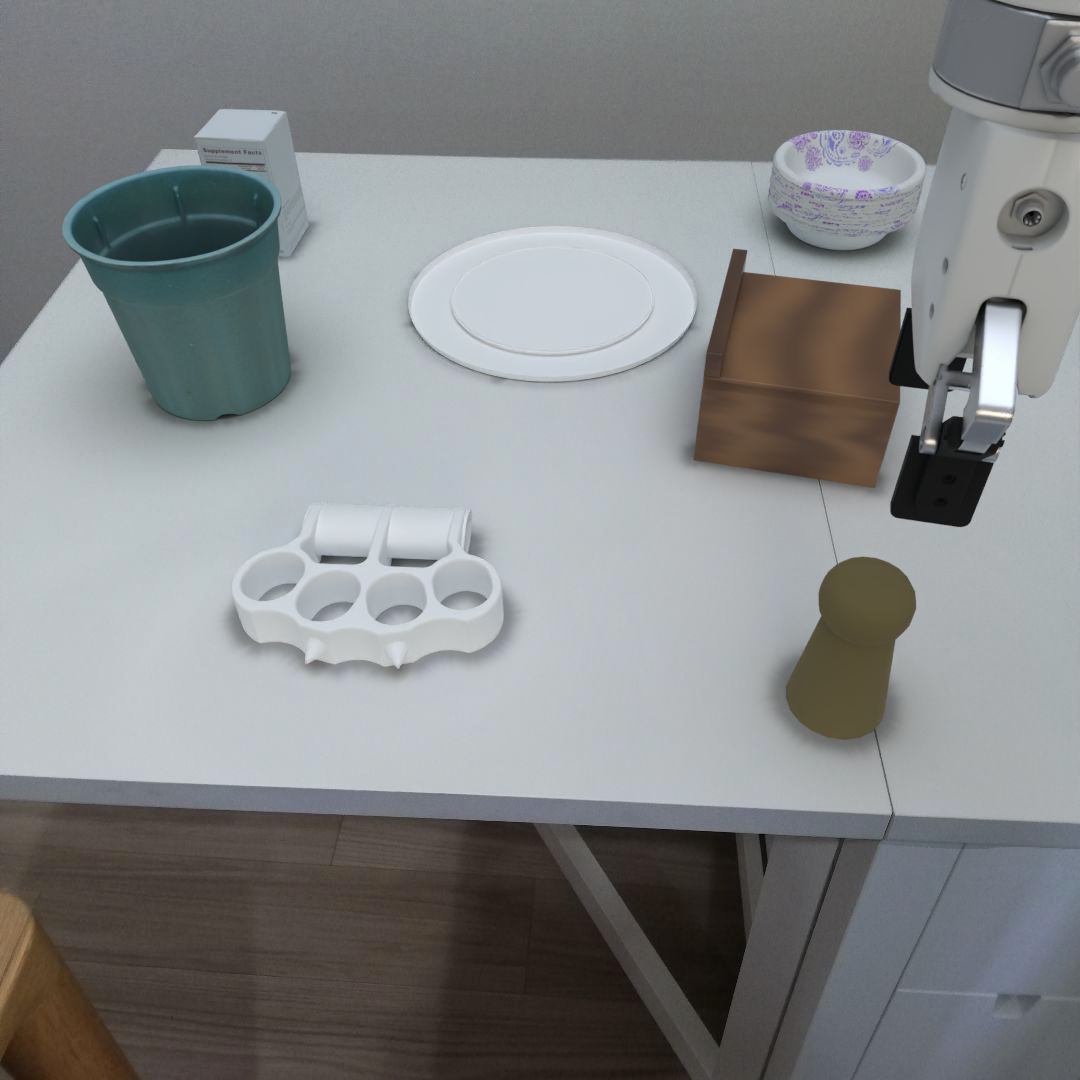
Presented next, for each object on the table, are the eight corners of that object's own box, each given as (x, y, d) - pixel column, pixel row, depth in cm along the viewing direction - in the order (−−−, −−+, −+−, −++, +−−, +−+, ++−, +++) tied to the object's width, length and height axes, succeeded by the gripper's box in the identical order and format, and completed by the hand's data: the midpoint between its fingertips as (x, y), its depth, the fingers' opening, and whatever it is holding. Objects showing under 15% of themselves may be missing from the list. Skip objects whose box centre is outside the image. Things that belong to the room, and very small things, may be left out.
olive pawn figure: (777, 724, 60) (808, 604, 52) (793, 651, 64) (825, 530, 56) (878, 752, 58) (926, 633, 50) (889, 676, 62) (935, 554, 55)
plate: (757, 308, 94) (758, 301, 93) (528, 423, 81) (528, 416, 81) (569, 207, 110) (569, 201, 109) (354, 291, 97) (353, 285, 97)
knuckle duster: (515, 531, 72) (494, 690, 62) (278, 521, 74) (218, 676, 63) (514, 497, 70) (492, 657, 60) (268, 488, 71) (204, 643, 61)
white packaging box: (247, 223, 108) (219, 106, 100) (311, 226, 108) (288, 109, 99) (222, 255, 103) (190, 135, 94) (290, 259, 102) (264, 138, 94)
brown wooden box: (878, 372, 86) (907, 267, 79) (874, 489, 75) (907, 379, 68) (719, 351, 89) (733, 248, 82) (693, 461, 78) (706, 352, 71)
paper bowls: (799, 274, 98) (812, 199, 93) (741, 208, 109) (751, 137, 103) (936, 254, 101) (957, 180, 95) (867, 191, 111) (883, 121, 106)
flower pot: (343, 401, 84) (310, 226, 73) (152, 463, 79) (84, 283, 68) (282, 314, 95) (245, 149, 83) (109, 363, 89) (44, 193, 78)
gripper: (1248, 162, 26) (1031, 598, 38) (1131, -23, 38) (995, 353, 50) (951, 139, 27) (833, 566, 39) (929, -32, 39) (844, 335, 51)
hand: (924, 446), depth 44 cm, fingers open, 9 cm apart
